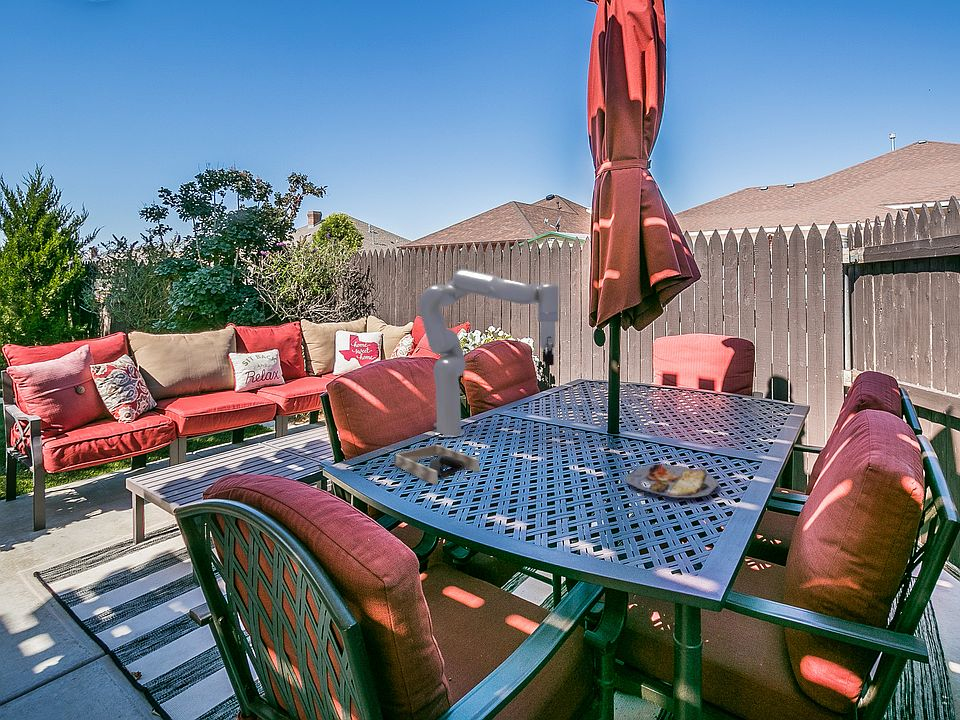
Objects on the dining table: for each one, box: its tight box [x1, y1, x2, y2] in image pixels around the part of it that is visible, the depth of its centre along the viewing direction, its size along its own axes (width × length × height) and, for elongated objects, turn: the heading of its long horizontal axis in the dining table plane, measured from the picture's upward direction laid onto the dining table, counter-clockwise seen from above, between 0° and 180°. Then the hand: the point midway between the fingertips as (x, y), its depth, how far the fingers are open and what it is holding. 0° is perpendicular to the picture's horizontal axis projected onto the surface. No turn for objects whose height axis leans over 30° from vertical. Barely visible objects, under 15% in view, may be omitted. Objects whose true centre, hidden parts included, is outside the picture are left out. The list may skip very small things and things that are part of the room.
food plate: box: [624, 463, 720, 500], centre depth 145 cm, size 25×23×4 cm
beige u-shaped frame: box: [393, 444, 480, 486], centre depth 164 cm, size 23×17×4 cm
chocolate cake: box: [429, 454, 467, 480], centre depth 160 cm, size 10×7×12 cm
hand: (548, 363), depth 191 cm, fingers open, 9 cm apart
